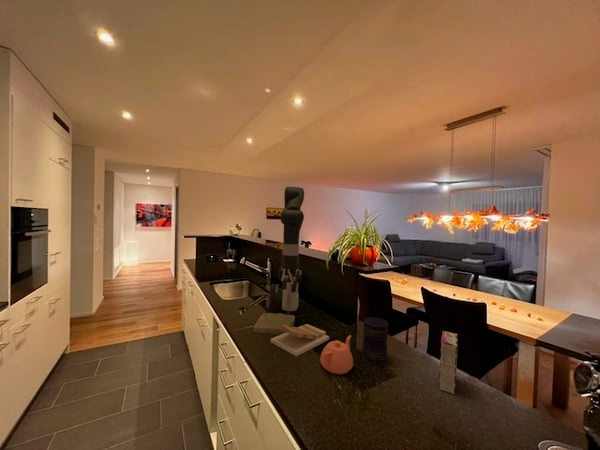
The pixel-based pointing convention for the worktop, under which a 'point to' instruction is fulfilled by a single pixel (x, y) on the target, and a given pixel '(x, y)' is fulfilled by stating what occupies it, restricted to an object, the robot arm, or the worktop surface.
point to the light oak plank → (313, 330)
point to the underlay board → (297, 343)
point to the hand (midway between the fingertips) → (288, 290)
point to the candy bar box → (448, 362)
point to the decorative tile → (273, 323)
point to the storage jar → (375, 340)
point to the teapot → (337, 357)
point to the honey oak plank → (295, 331)
